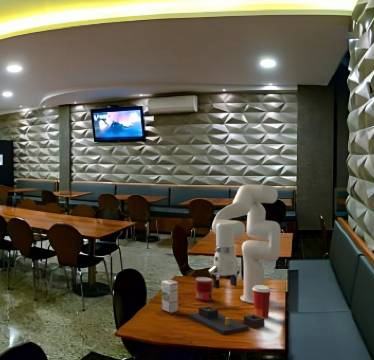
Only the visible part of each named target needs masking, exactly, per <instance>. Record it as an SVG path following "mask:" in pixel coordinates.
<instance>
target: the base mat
mask: <svg viewBox="0 0 374 360" xmlns="http://www.w3.org/2000/svg"><path fill="white" fill-rule="evenodd" d="M207 310H210V309H207ZM188 317H189V319H191V320H192V321H195V322H197V323H199V324H201V325H203V326H205V327H207V328H209V329H211V330H213V331H215V332H217V333H219V334H221V335H224V336H225V335H229V334H234V333H239V332H245V331H249V330H250V327H249V326H247V325H245V324H244V323H242V322H240V321H239V320H236V319H233V318H231V317H229V316H226V315H224V314H222V313H219V312H218V317H216V318H211V319H207V318H205V317H202V316H200V315H199V312H196V313H190V314H188Z"/></svg>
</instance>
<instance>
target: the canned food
mask: <svg viewBox="0 0 374 360" xmlns="http://www.w3.org/2000/svg"><path fill="white" fill-rule="evenodd" d="M195 299H196V300H197V301H199V302H211V301H212V299H213V279H212V278H210V277H206V276H197V277H195Z"/></svg>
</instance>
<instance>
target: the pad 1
mask: <svg viewBox="0 0 374 360" xmlns="http://www.w3.org/2000/svg"><path fill="white" fill-rule="evenodd" d="M207 309H210V310H207ZM198 313H199V315H200V316H202V317H205V318H207V319H211V318H216V317H218V313H219V309H217V308H215V307H213V306H210V305H206V306H200V307H198Z"/></svg>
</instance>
